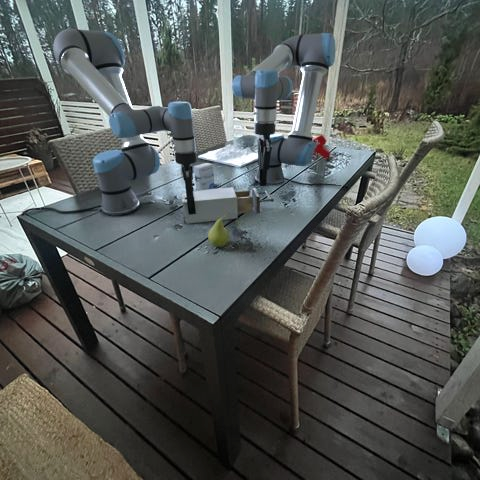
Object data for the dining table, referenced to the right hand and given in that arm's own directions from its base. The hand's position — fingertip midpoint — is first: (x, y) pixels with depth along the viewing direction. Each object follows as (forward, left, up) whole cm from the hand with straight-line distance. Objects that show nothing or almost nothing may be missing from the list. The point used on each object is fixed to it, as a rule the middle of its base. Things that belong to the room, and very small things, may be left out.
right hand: (262, 185), depth 108 cm
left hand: (+25, +13, -7) cm, 29 cm away
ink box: (+33, -16, -12) cm, 39 cm away
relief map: (+39, -71, -12) cm, 82 cm away
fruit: (+7, +29, -12) cm, 32 cm away
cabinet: (+19, +10, -11) cm, 24 cm away
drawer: (+8, +4, -10) cm, 13 cm away
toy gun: (-13, -85, -12) cm, 87 cm away
